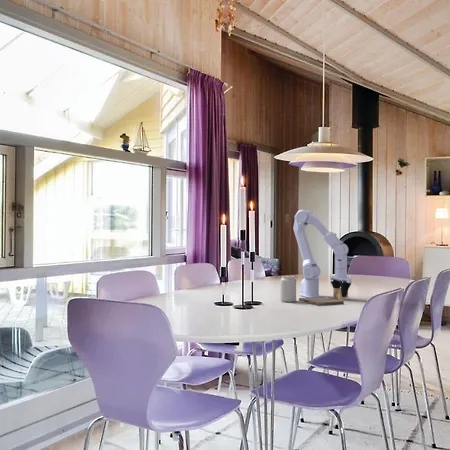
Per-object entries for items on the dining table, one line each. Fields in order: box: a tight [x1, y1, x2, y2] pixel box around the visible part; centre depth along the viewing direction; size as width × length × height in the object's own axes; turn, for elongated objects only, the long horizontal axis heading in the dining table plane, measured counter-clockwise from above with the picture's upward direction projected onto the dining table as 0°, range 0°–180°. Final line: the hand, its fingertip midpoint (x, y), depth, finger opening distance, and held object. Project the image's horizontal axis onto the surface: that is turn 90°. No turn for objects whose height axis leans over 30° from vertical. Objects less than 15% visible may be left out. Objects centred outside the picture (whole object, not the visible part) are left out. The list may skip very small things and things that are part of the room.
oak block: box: [332, 287, 349, 301], centre depth 244 cm, size 5×5×5 cm
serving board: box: [298, 296, 345, 307], centre depth 234 cm, size 16×14×1 cm
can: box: [279, 275, 297, 303], centre depth 236 cm, size 8×8×12 cm
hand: (340, 296), depth 244 cm, fingers closed on oak block, 5 cm apart
